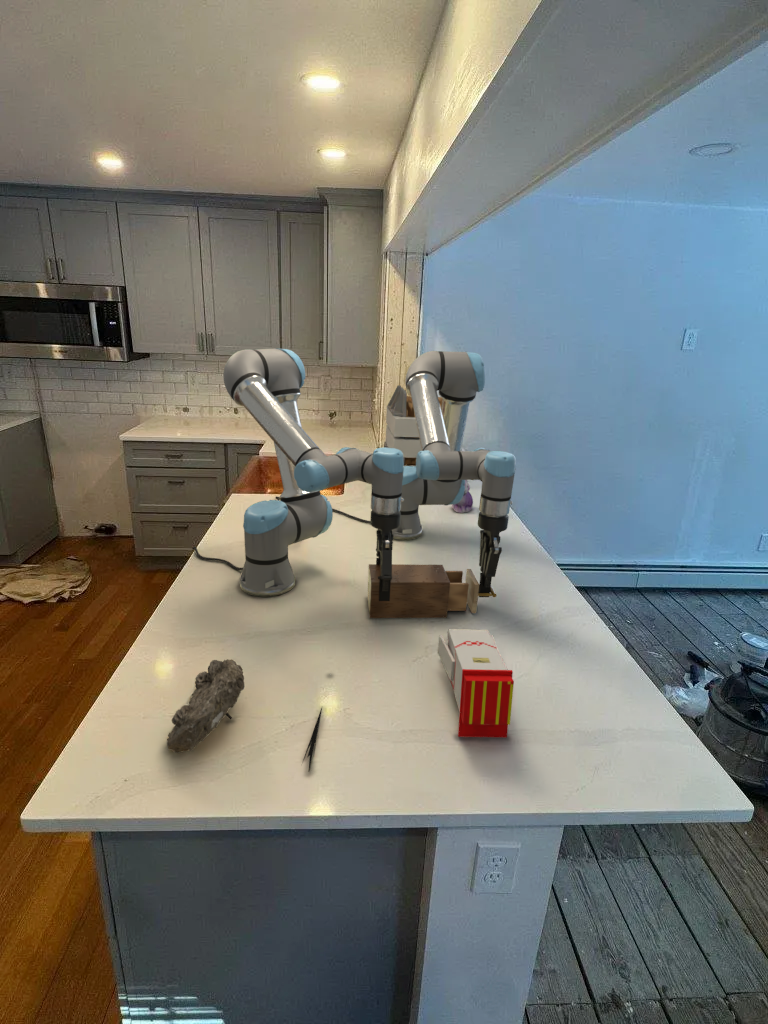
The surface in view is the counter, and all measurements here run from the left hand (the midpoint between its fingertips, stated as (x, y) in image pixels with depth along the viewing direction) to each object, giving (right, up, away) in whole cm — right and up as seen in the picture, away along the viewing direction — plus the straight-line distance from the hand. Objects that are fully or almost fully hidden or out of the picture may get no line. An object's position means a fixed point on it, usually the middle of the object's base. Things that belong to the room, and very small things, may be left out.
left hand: (382, 590), depth 148 cm
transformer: (+18, +39, +127) cm, 134 cm away
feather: (-12, -19, -40) cm, 46 cm away
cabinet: (+6, -5, +2) cm, 8 cm away
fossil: (-32, -19, -40) cm, 55 cm away
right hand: (+27, -2, +3) cm, 27 cm away
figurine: (+32, +21, +79) cm, 88 cm away
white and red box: (+18, -17, -30) cm, 39 cm away
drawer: (+17, -4, +3) cm, 18 cm away
